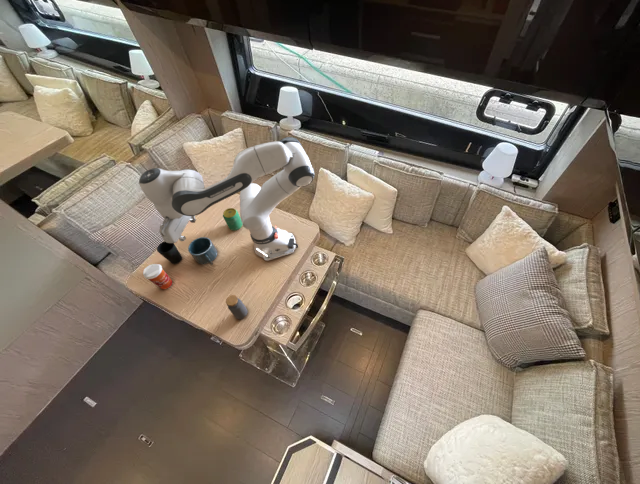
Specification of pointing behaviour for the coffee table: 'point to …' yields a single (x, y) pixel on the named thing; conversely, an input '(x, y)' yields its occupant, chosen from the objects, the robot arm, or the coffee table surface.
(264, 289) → the coffee table surface
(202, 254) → the teal ceramic mug
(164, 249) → the cup
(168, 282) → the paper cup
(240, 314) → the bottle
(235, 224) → the beverage can
